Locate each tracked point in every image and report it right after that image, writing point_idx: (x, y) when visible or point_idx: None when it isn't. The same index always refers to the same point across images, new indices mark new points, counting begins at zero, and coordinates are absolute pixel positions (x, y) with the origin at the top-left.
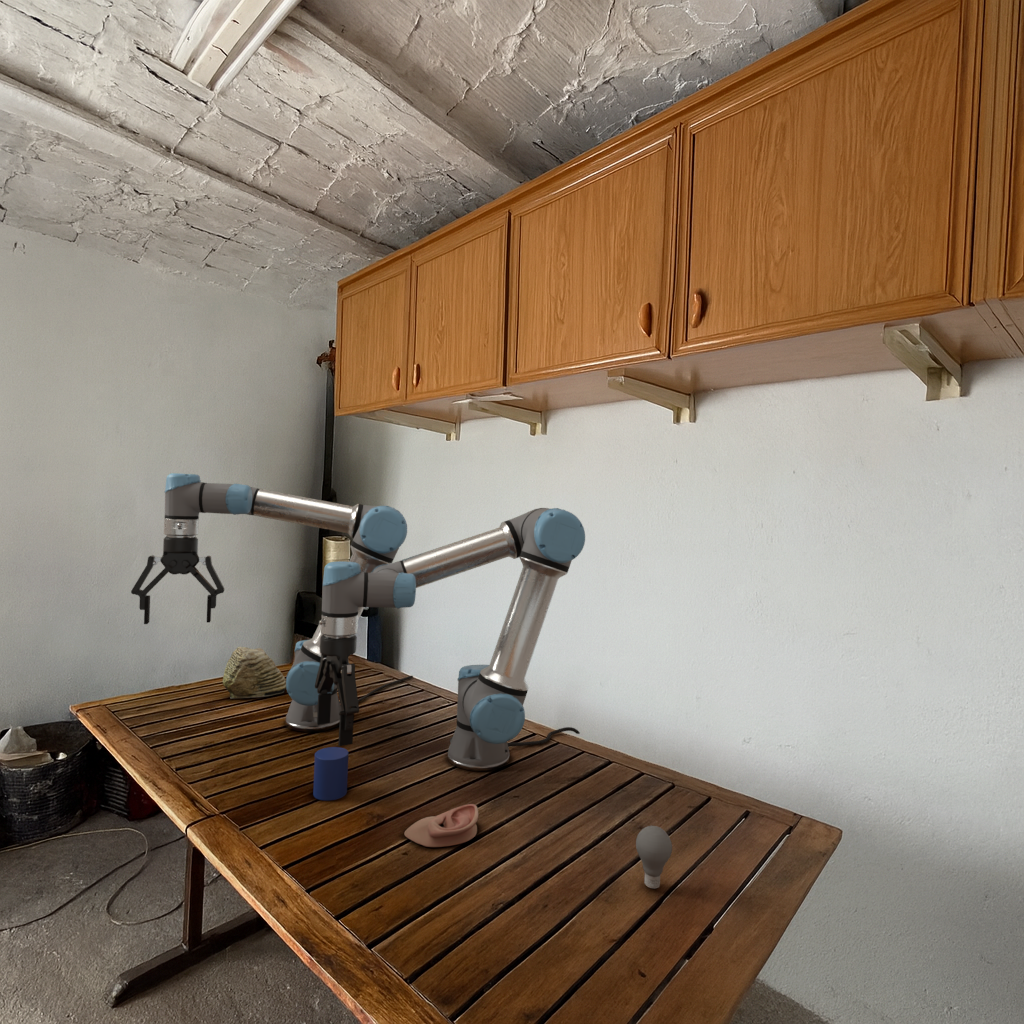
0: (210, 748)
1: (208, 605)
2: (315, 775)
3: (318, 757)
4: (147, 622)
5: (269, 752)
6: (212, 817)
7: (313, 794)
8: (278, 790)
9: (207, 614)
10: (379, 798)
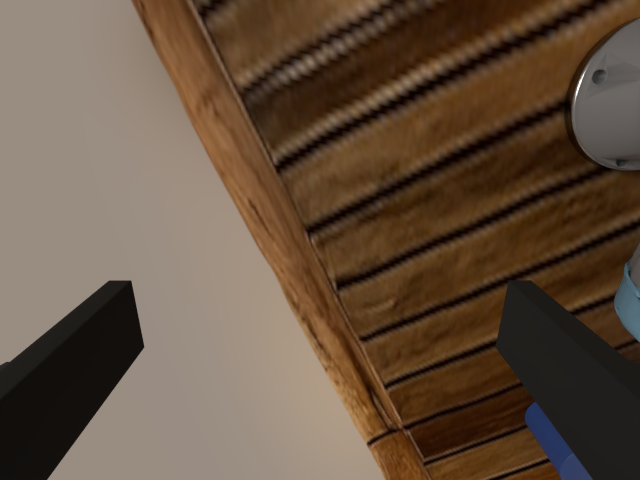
0: (391, 203)
1: (582, 448)
2: (542, 447)
3: (563, 477)
4: (138, 353)
5: (496, 252)
6: (394, 434)
7: (525, 416)
8: (483, 390)
9: (529, 384)
10: None
